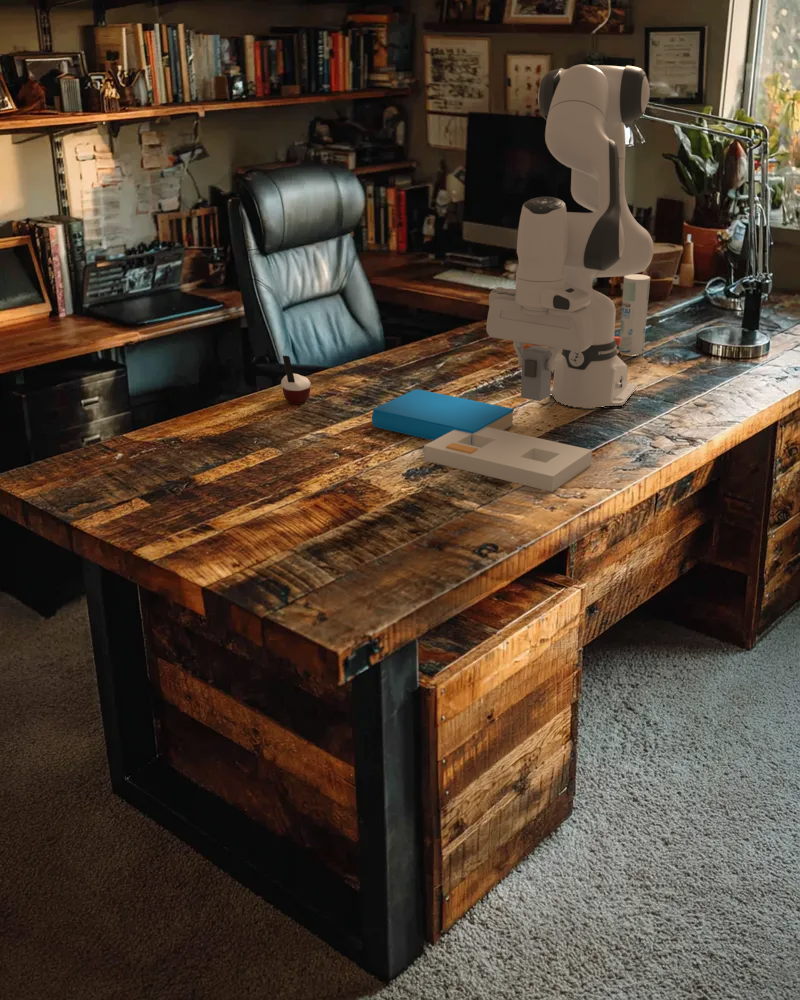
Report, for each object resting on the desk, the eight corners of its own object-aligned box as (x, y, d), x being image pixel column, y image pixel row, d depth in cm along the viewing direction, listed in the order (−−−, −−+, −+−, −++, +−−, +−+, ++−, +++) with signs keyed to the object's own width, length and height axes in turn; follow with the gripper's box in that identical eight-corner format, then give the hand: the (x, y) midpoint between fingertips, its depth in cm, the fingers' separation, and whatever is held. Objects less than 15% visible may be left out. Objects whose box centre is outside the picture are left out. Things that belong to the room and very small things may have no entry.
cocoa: (300, 396, 254) (298, 345, 250) (320, 400, 250) (318, 349, 246) (271, 404, 247) (268, 352, 243) (290, 409, 243) (288, 356, 239)
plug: (531, 391, 205) (533, 345, 201) (550, 395, 203) (552, 348, 199) (518, 398, 201) (520, 351, 197) (537, 402, 199) (540, 354, 195)
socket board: (467, 441, 224) (467, 421, 223) (590, 469, 210) (592, 448, 208) (424, 464, 212) (423, 444, 211) (551, 496, 198) (552, 474, 196)
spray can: (648, 355, 281) (654, 278, 273) (625, 357, 279) (631, 280, 271) (636, 349, 287) (642, 273, 279) (614, 351, 285) (619, 275, 277)
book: (415, 388, 242) (514, 406, 229) (416, 407, 244) (514, 426, 231) (370, 409, 229) (472, 430, 216) (371, 429, 231) (472, 450, 218)
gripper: (480, 288, 197) (479, 362, 203) (583, 303, 187) (578, 380, 192) (498, 282, 202) (496, 354, 208) (599, 296, 191) (594, 371, 197)
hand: (536, 367), depth 200 cm, fingers closed on plug, 4 cm apart
